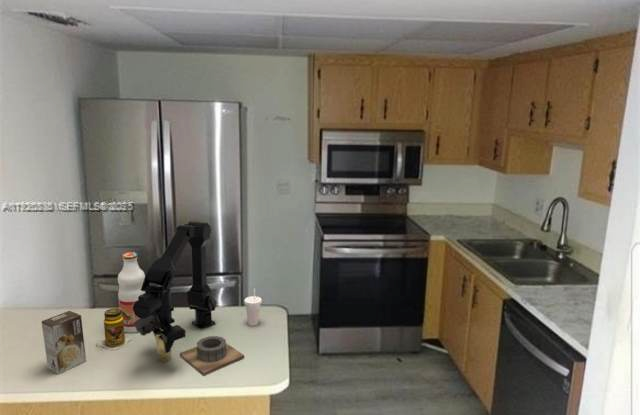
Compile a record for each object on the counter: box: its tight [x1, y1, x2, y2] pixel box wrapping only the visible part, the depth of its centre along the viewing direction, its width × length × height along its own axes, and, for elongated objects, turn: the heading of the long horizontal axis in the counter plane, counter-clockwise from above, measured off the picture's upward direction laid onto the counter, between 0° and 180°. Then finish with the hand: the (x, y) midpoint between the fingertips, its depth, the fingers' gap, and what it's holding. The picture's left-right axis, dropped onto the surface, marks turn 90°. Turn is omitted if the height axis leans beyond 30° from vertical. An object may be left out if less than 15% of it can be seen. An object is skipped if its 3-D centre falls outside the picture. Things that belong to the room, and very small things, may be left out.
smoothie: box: [244, 288, 263, 327], centre depth 177 cm, size 6×6×14 cm
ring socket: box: [179, 335, 245, 376], centre depth 155 cm, size 15×15×5 cm
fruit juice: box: [117, 251, 146, 334], centre depth 171 cm, size 9×9×28 cm
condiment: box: [96, 307, 132, 351], centre depth 162 cm, size 7×8×12 cm
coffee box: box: [41, 310, 87, 375], centre depth 147 cm, size 9×6×16 cm
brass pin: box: [155, 331, 173, 364], centre depth 153 cm, size 4×4×9 cm
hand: (164, 349), depth 153 cm, fingers closed on brass pin, 4 cm apart
